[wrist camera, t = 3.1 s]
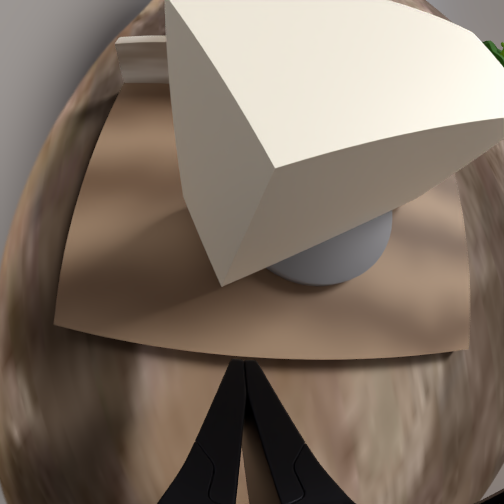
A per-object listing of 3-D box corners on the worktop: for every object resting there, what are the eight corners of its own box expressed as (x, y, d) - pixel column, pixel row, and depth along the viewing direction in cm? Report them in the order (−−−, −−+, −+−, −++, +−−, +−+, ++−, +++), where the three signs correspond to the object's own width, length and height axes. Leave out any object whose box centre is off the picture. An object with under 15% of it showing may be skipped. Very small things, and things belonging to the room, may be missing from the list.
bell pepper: (494, 99, 31) (525, 71, 21) (463, 65, 31) (491, 34, 21) (495, 87, 33) (522, 62, 23) (467, 57, 33) (492, 29, 24)
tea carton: (423, 235, 18) (561, 163, 6) (241, 333, 14) (372, 374, 3) (355, 118, 19) (439, 2, 8) (170, 168, 16) (145, -31, 4)
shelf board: (455, 348, 18) (507, 348, 12) (65, 324, 14) (13, 322, 9) (437, 152, 22) (472, 123, 17) (131, 87, 19) (120, 36, 13)
